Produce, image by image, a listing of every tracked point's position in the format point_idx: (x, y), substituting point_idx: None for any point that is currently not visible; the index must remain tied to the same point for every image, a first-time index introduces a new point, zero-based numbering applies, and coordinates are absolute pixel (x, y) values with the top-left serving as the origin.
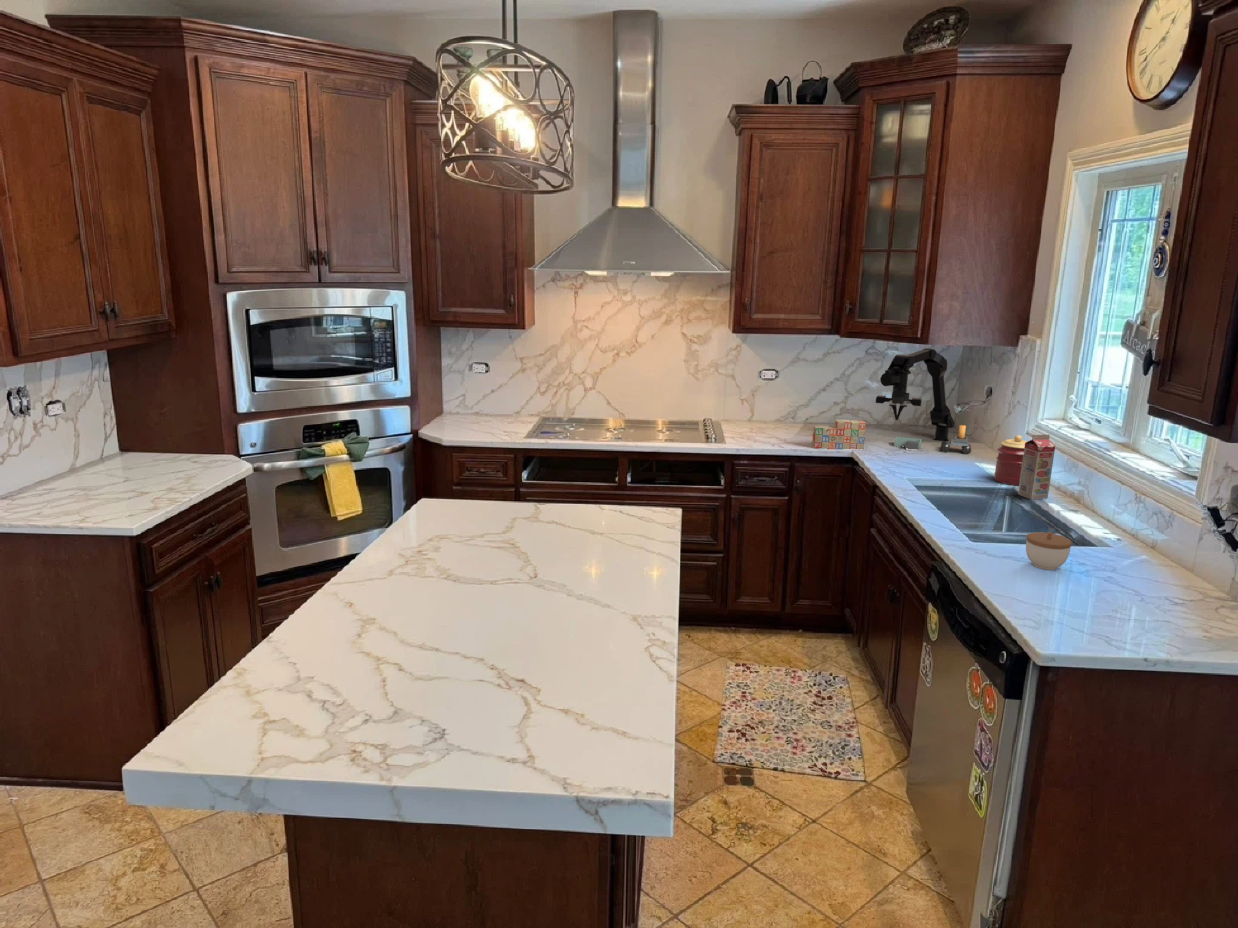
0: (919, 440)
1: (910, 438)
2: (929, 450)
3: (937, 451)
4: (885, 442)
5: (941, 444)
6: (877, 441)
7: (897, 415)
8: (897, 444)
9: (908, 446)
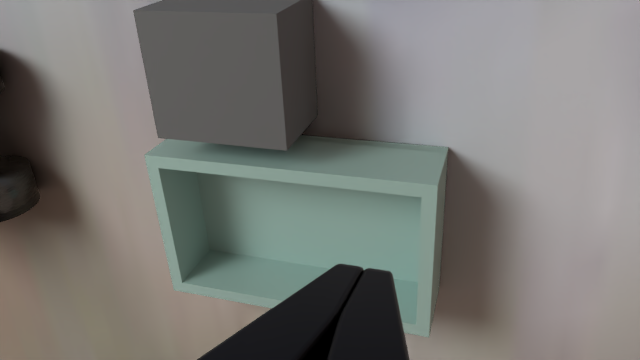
0: (194, 276)
1: (271, 299)
2: (101, 77)
3: (36, 60)
4: (540, 318)
5: (7, 179)
6: (634, 348)
7: (302, 347)
8: (408, 154)
9: (265, 3)
